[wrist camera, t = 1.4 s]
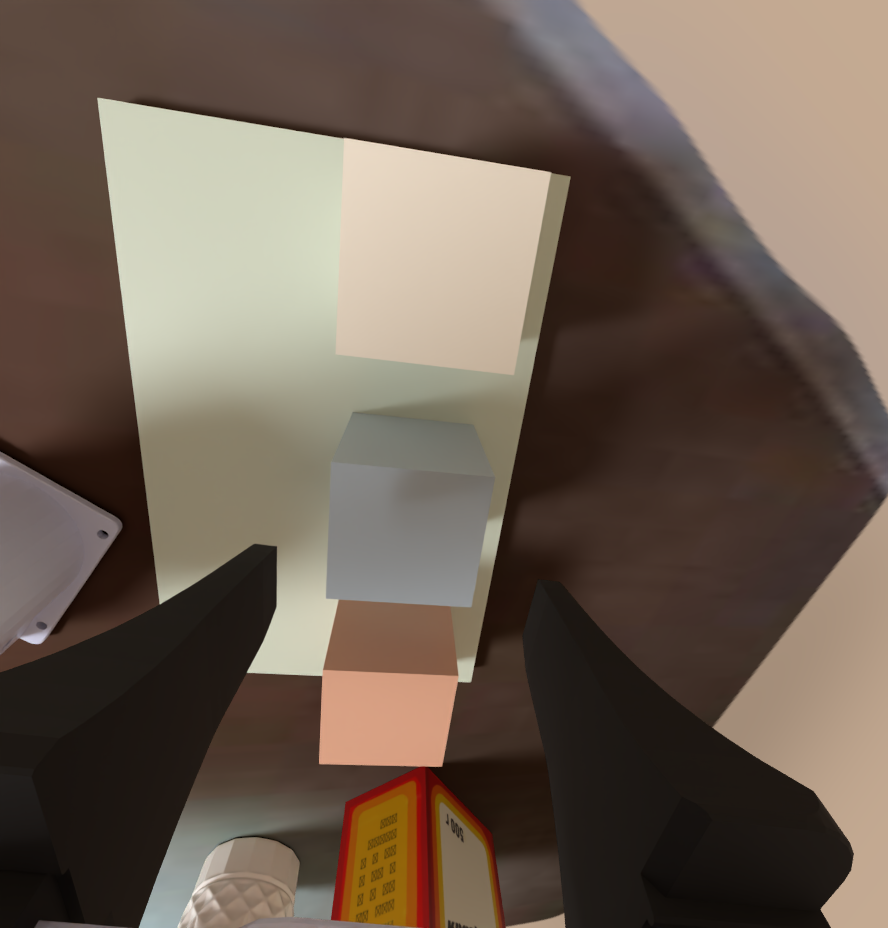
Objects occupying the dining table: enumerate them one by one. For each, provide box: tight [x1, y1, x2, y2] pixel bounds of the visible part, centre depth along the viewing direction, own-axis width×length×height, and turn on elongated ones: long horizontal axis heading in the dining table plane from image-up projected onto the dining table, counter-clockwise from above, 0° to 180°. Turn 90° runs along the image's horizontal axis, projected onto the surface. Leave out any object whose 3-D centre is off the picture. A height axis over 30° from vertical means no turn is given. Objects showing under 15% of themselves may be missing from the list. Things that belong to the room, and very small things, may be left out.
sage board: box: [98, 98, 571, 682], centre depth 22 cm, size 26×17×1 cm, turn 173°
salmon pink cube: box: [319, 600, 459, 767], centre depth 23 cm, size 6×6×6 cm
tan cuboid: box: [336, 138, 551, 375], centre depth 16 cm, size 6×6×6 cm
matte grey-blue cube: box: [326, 412, 495, 607], centre depth 19 cm, size 6×6×6 cm
